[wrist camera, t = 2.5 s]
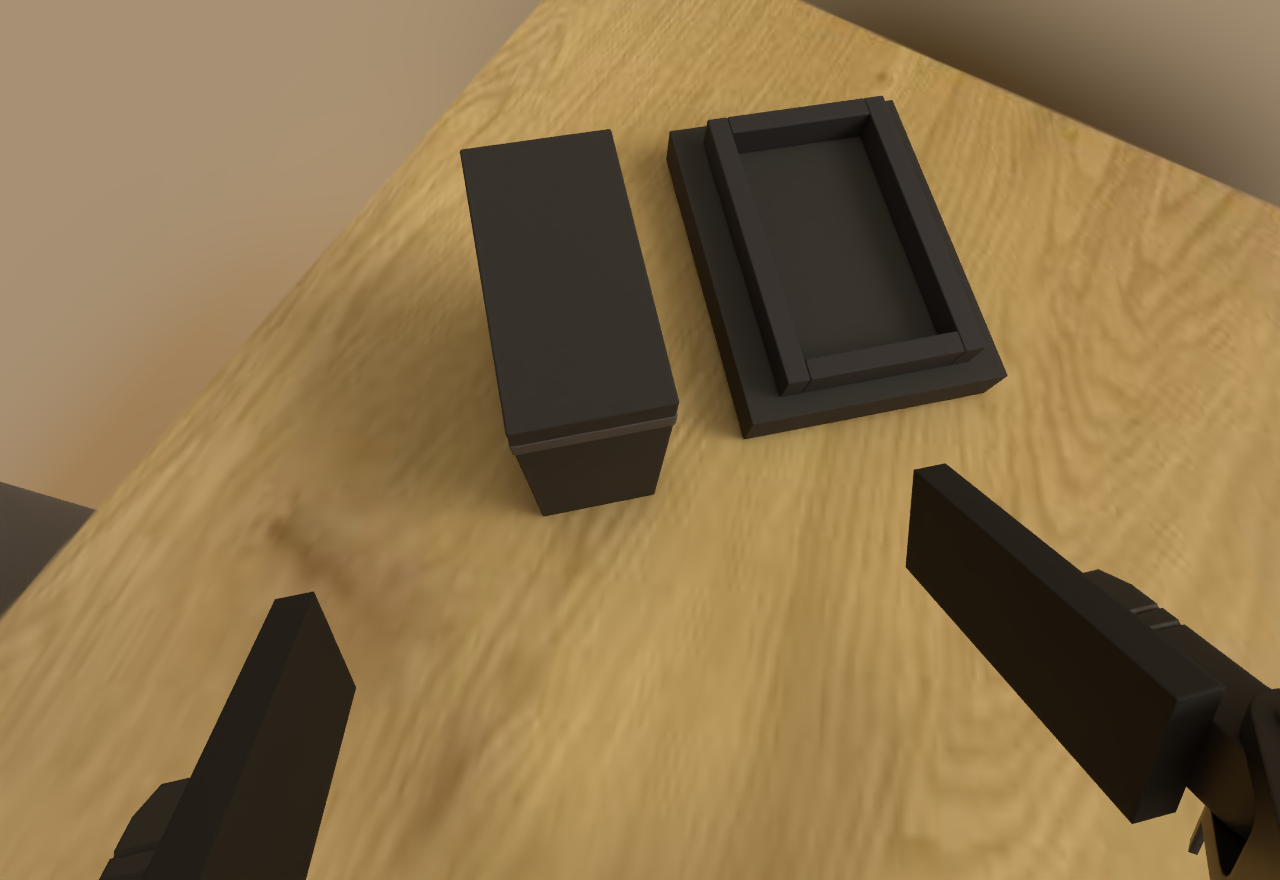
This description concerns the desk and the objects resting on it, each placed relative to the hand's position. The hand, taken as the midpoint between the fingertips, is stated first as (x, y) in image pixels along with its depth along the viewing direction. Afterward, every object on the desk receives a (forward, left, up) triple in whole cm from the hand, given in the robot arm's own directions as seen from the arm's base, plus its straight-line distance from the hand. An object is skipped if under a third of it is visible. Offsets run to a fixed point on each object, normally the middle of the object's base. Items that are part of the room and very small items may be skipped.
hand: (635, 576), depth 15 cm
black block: (-6, +8, -14) cm, 17 cm away
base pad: (+1, +20, -14) cm, 24 cm away
